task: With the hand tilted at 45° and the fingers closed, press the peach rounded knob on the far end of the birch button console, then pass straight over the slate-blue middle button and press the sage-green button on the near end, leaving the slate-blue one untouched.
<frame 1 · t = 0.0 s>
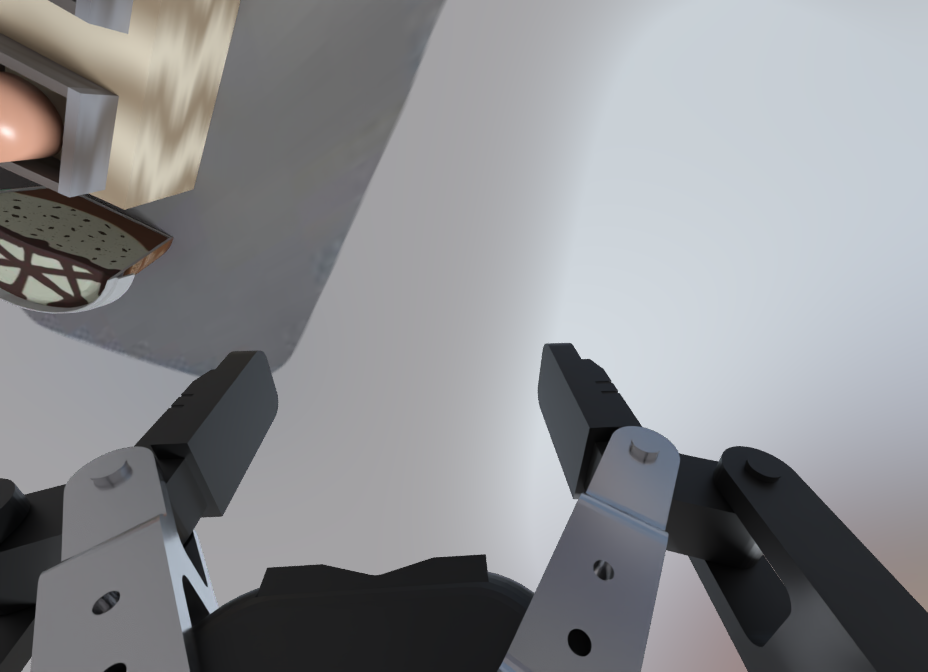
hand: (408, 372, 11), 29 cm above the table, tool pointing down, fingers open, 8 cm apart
food container: (115, 239, 37), on the table
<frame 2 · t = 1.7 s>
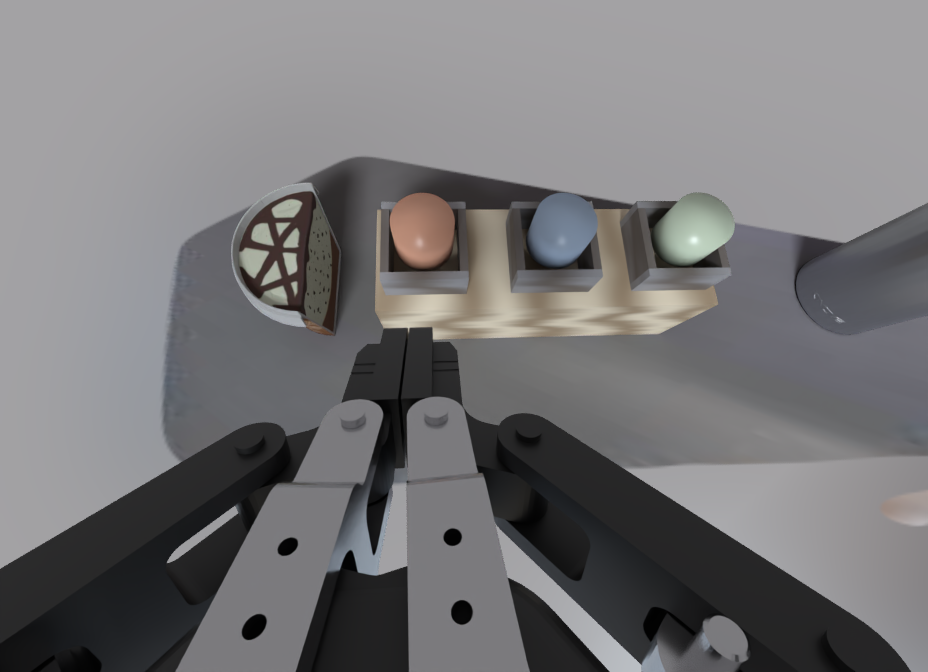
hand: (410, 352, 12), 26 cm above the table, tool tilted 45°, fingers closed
button console: (524, 296, 41), on the table
sage button: (690, 231, 29), point 13 cm above the table, slide at 0.0 cm
food container: (308, 292, 40), on the table
slate button: (559, 232, 28), point 13 cm above the table, slide at 0.0 cm
peach rounded knob: (423, 233, 28), point 13 cm above the table, slide at 0.0 cm
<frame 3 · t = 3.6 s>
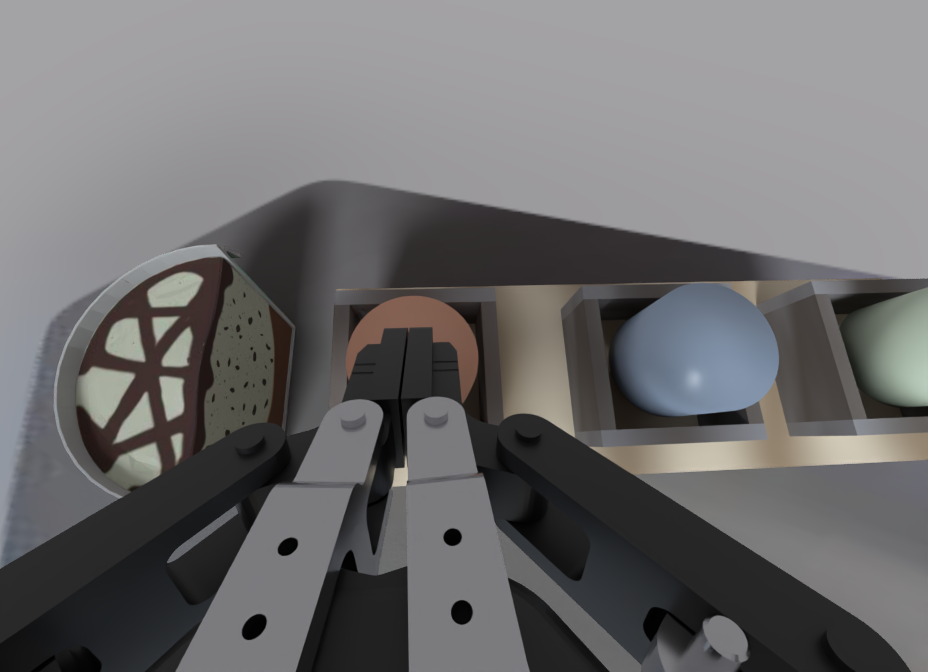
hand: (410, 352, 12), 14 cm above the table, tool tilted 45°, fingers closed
button console: (572, 394, 27), on the table
food container: (243, 393, 26), on the table
slate button: (684, 354, 14), point 13 cm above the table, slide at 0.0 cm
peach rounded knob: (416, 366, 14), point 12 cm above the table, slide at 0.7 cm, touching gripper
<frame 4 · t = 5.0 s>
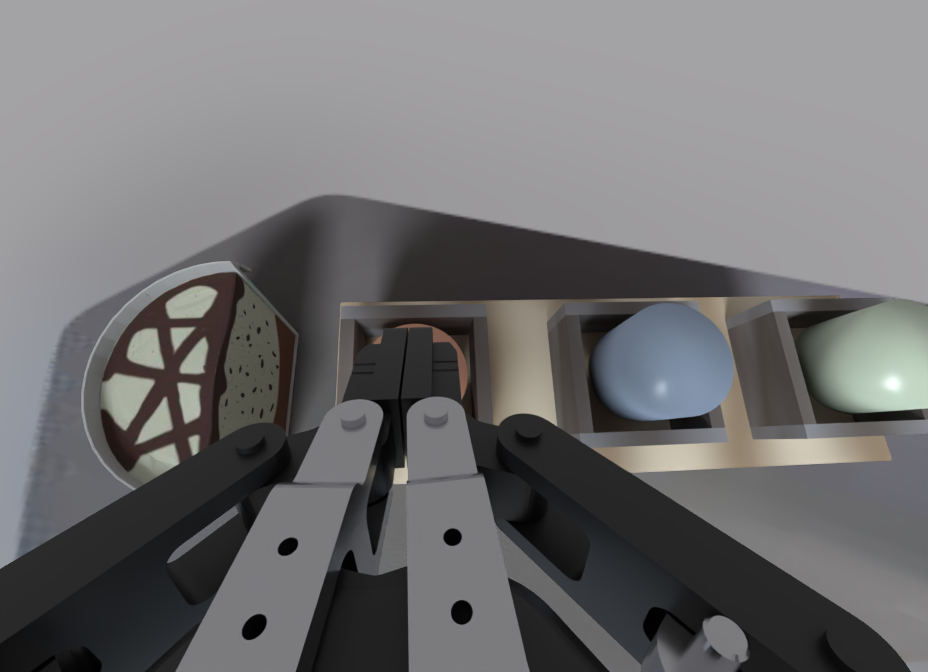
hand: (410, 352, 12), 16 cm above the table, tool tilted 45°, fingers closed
button console: (560, 399, 28), on the table
sage button: (874, 359, 17), point 13 cm above the table, slide at 0.0 cm
food container: (249, 397, 27), on the table
slate button: (654, 365, 16), point 13 cm above the table, slide at 0.0 cm
peach rounded knob: (416, 380, 17), point 11 cm above the table, slide at 2.1 cm
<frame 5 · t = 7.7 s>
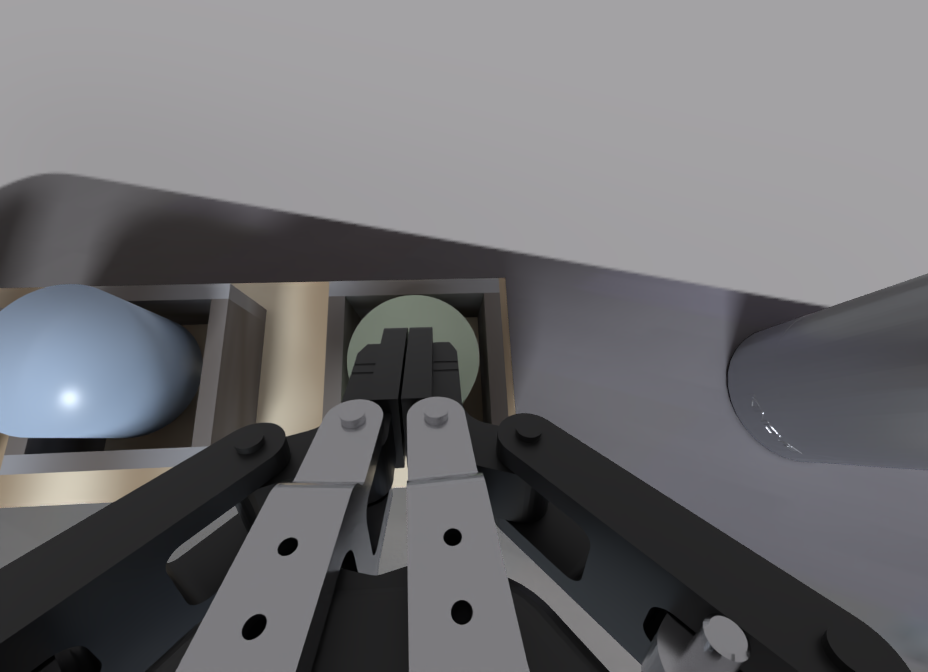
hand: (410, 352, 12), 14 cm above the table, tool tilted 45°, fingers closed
button console: (273, 403, 25), on the table
sage button: (417, 365, 14), point 11 cm above the table, slide at 1.5 cm, touching gripper
slate button: (100, 367, 12), point 13 cm above the table, slide at 0.0 cm
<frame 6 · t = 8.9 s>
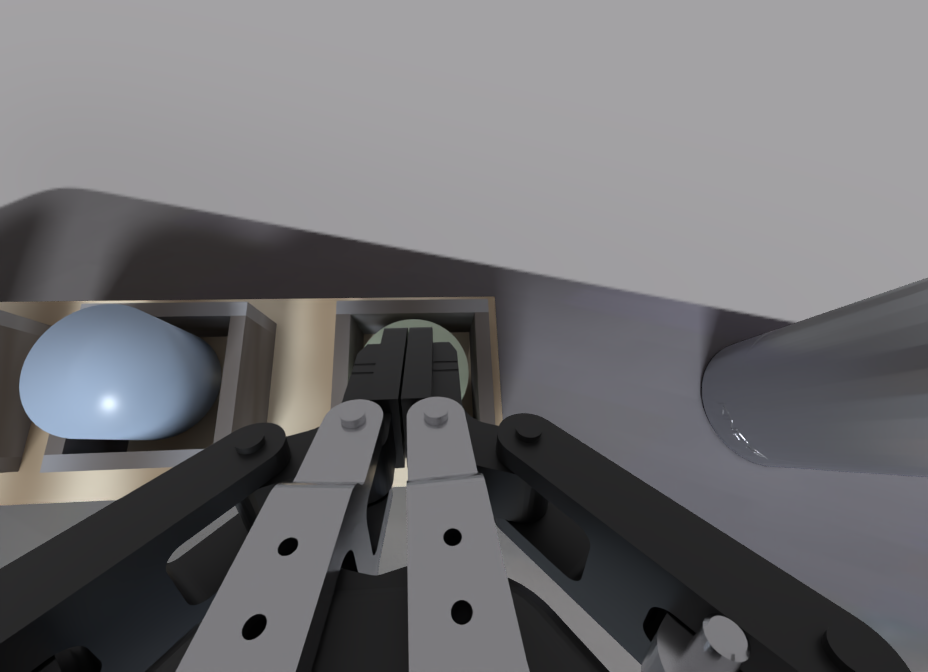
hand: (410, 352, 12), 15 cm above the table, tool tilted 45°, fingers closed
button console: (276, 409, 26), on the table
sage button: (415, 379, 17), point 11 cm above the table, slide at 2.1 cm
slate button: (133, 376, 14), point 13 cm above the table, slide at 0.0 cm
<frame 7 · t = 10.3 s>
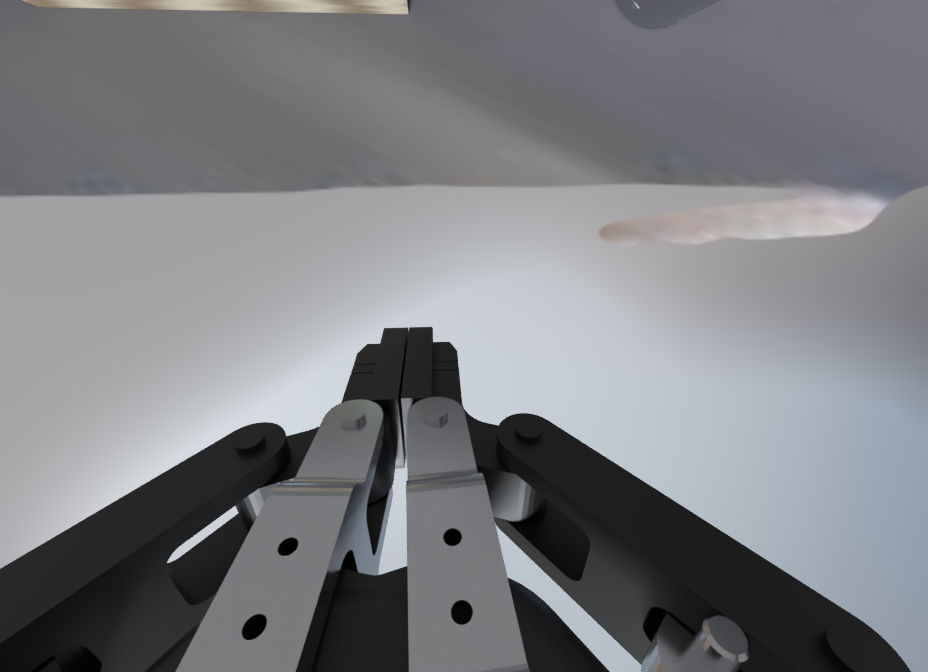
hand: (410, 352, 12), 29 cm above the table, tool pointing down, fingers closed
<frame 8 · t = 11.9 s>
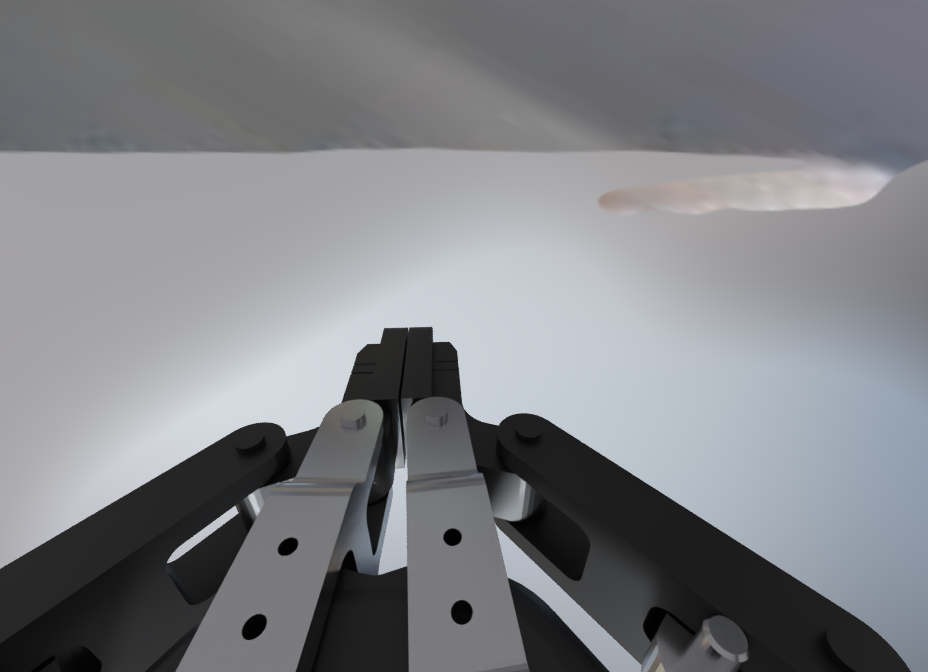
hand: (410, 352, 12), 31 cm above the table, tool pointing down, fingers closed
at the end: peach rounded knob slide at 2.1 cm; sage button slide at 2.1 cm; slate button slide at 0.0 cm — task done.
